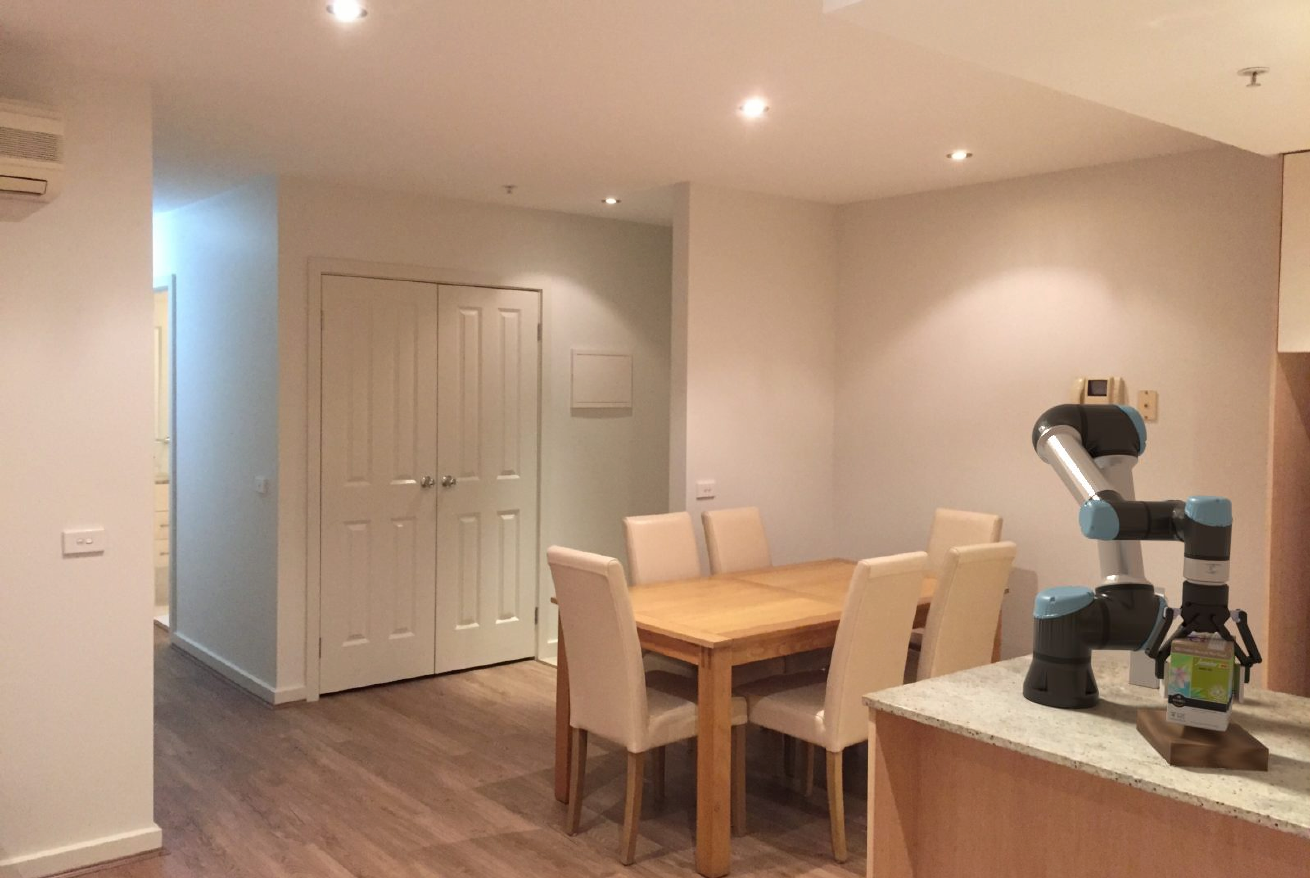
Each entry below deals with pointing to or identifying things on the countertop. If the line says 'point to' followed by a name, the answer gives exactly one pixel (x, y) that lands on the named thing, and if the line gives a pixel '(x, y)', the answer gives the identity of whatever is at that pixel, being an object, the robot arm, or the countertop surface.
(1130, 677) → the milk
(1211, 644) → the tea box
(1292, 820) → the countertop surface
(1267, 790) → the countertop surface
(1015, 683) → the countertop surface
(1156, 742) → the walnut plinth
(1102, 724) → the countertop surface
